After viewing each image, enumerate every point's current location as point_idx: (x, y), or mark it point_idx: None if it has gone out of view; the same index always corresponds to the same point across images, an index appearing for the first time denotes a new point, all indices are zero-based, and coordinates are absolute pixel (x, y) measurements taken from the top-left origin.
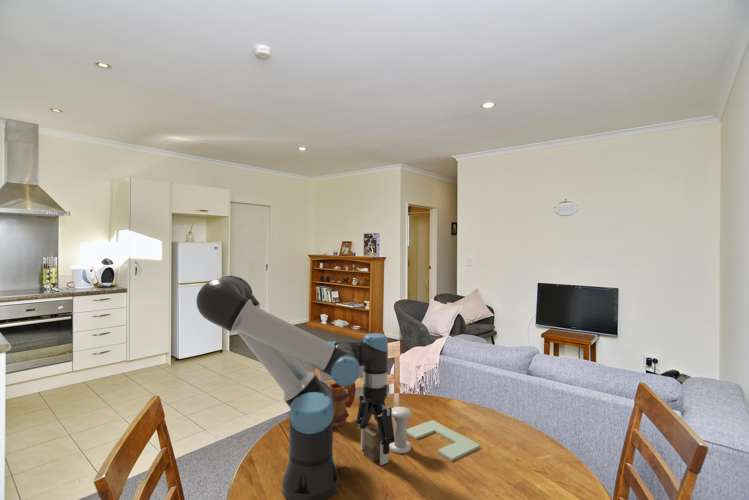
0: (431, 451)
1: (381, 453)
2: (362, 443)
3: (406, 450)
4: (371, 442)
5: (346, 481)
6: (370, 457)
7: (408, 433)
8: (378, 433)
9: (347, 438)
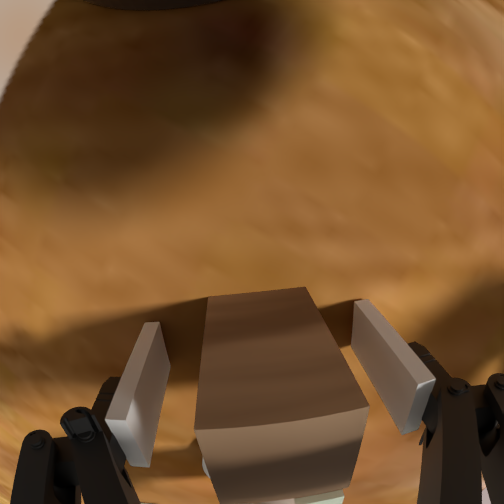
0: (173, 499)
1: (127, 365)
2: (371, 325)
3: (202, 464)
4: (218, 374)
5: (105, 56)
6: (228, 303)
7: (319, 498)
8: (216, 476)
9: (483, 281)
